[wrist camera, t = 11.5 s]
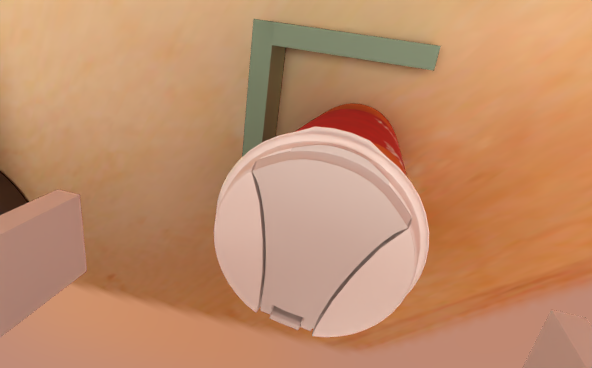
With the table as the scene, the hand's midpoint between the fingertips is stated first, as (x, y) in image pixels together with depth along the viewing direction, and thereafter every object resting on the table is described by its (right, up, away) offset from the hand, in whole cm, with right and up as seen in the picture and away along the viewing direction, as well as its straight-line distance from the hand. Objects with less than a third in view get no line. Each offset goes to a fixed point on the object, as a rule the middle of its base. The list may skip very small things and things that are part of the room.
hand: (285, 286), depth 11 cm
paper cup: (+4, +6, +15) cm, 16 cm away
